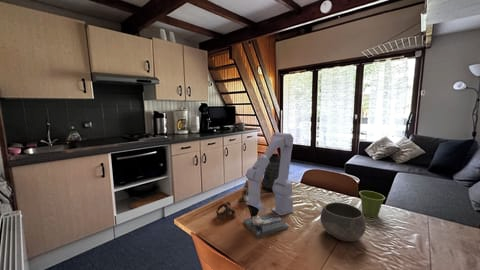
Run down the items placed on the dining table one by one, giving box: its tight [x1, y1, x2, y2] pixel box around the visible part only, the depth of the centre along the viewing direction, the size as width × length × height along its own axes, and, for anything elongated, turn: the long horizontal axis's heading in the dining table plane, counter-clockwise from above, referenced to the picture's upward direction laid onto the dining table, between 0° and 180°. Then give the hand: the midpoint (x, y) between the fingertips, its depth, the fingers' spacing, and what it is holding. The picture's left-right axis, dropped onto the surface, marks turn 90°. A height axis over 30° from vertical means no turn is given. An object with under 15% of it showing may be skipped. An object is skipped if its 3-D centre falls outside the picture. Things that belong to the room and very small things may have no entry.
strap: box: [255, 216, 282, 227], centre depth 98 cm, size 14×3×1 cm, turn 116°
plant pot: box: [358, 190, 386, 218], centre depth 110 cm, size 12×12×11 cm
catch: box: [252, 214, 264, 225], centre depth 97 cm, size 3×6×3 cm, turn 26°
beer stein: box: [260, 153, 281, 193], centre depth 148 cm, size 16×19×25 cm
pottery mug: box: [215, 201, 237, 220], centre depth 109 cm, size 12×10×8 cm
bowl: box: [320, 202, 367, 242], centre depth 91 cm, size 18×18×13 cm
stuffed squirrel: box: [237, 179, 262, 203], centre depth 128 cm, size 10×14×13 cm
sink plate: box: [242, 212, 289, 239], centre depth 100 cm, size 17×14×4 cm
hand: (253, 219), depth 101 cm, fingers closed
